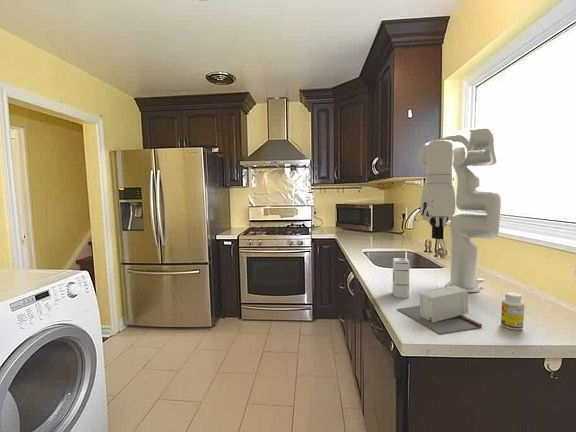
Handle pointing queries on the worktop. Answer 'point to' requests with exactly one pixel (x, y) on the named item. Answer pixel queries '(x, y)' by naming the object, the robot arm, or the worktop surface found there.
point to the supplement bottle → (512, 311)
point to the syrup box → (401, 277)
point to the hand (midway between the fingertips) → (437, 238)
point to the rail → (470, 321)
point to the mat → (438, 322)
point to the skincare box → (443, 303)
